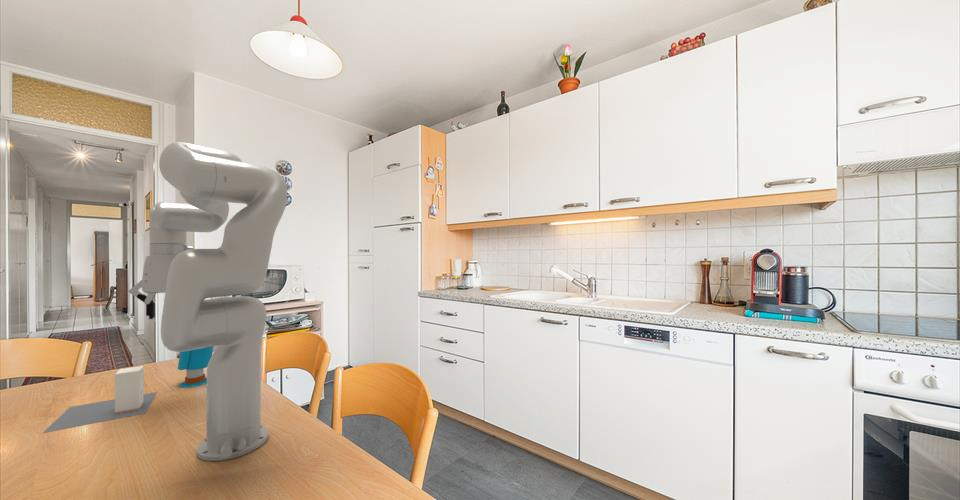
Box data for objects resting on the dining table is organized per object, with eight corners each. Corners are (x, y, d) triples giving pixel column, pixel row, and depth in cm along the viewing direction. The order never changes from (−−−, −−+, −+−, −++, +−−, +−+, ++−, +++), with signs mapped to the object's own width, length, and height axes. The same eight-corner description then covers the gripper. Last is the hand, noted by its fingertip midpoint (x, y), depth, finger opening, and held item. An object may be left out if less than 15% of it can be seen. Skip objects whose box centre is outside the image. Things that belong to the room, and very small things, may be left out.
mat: (145, 414, 88) (145, 413, 88) (42, 434, 79) (42, 433, 79) (157, 393, 102) (157, 391, 102) (70, 408, 92) (70, 406, 92)
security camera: (209, 317, 106) (169, 318, 103) (209, 387, 106) (169, 390, 103) (220, 312, 114) (183, 313, 111) (220, 377, 114) (183, 380, 111)
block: (139, 409, 90) (139, 370, 90) (114, 414, 88) (115, 374, 88) (143, 403, 94) (143, 365, 94) (119, 407, 92) (119, 369, 92)
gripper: (209, 250, 103) (209, 311, 103) (127, 250, 94) (127, 318, 93) (207, 250, 97) (207, 315, 97) (120, 250, 87) (119, 323, 87)
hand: (168, 316), depth 95 cm, fingers open, 5 cm apart
